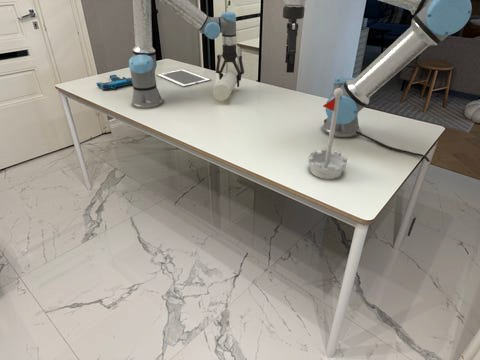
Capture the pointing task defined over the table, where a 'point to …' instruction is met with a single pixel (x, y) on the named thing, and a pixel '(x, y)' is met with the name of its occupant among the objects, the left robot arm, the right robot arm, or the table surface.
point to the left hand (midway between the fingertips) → (230, 85)
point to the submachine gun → (115, 82)
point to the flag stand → (329, 148)
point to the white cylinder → (225, 85)
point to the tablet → (183, 77)
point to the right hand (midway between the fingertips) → (289, 67)
